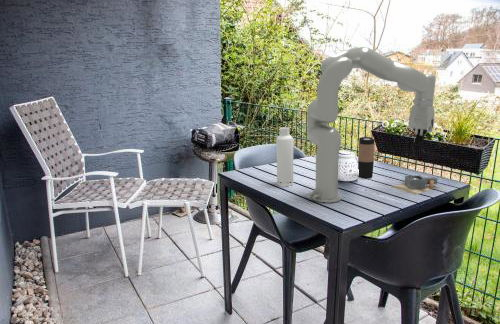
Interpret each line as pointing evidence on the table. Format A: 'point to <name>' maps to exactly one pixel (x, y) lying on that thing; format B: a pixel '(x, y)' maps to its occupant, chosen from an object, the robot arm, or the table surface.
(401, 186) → the board
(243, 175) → the table surface
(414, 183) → the flange
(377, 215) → the table surface
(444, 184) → the table surface
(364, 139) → the travel mug
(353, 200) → the table surface
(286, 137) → the bottle
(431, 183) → the dowel
